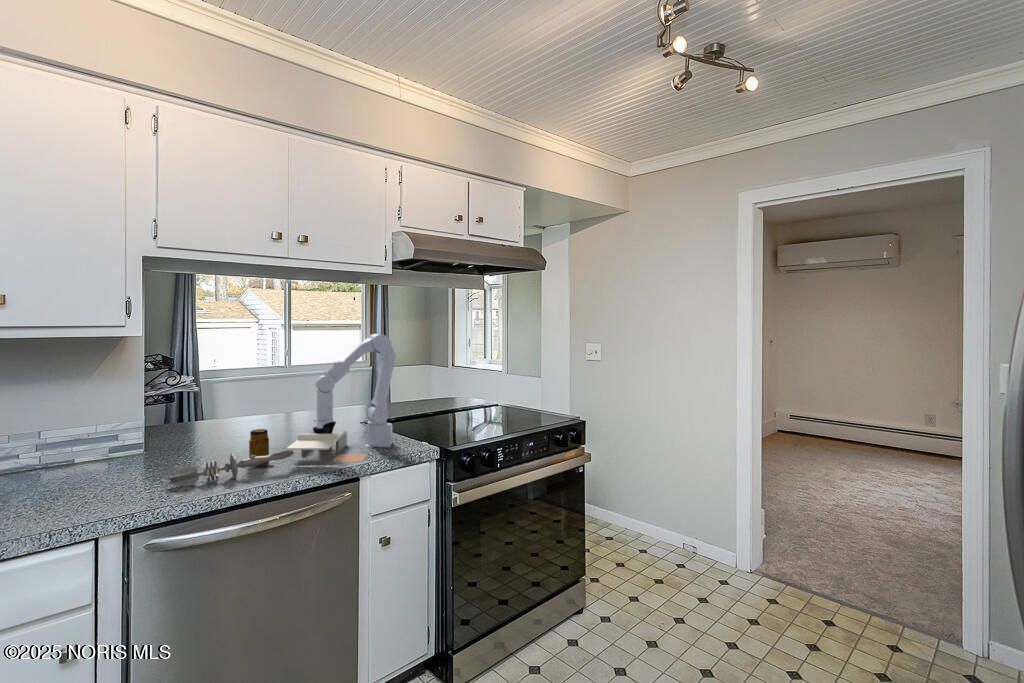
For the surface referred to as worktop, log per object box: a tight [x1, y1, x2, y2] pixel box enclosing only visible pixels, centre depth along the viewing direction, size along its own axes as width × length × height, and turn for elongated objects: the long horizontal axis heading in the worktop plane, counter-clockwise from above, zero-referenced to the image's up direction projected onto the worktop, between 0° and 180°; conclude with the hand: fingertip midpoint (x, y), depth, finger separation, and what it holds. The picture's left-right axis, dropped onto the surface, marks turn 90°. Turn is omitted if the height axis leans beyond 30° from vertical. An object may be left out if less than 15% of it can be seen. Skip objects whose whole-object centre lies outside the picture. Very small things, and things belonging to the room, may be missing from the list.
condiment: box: [245, 428, 275, 469], centre depth 175 cm, size 7×8×12 cm
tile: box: [332, 453, 368, 463], centre depth 183 cm, size 10×10×1 cm
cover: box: [285, 433, 339, 451], centre depth 179 cm, size 14×13×2 cm
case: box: [301, 430, 348, 455], centre depth 194 cm, size 13×13×6 cm
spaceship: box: [167, 450, 294, 487], centre depth 161 cm, size 8×35×8 cm
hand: (324, 443), depth 194 cm, fingers open, 7 cm apart
